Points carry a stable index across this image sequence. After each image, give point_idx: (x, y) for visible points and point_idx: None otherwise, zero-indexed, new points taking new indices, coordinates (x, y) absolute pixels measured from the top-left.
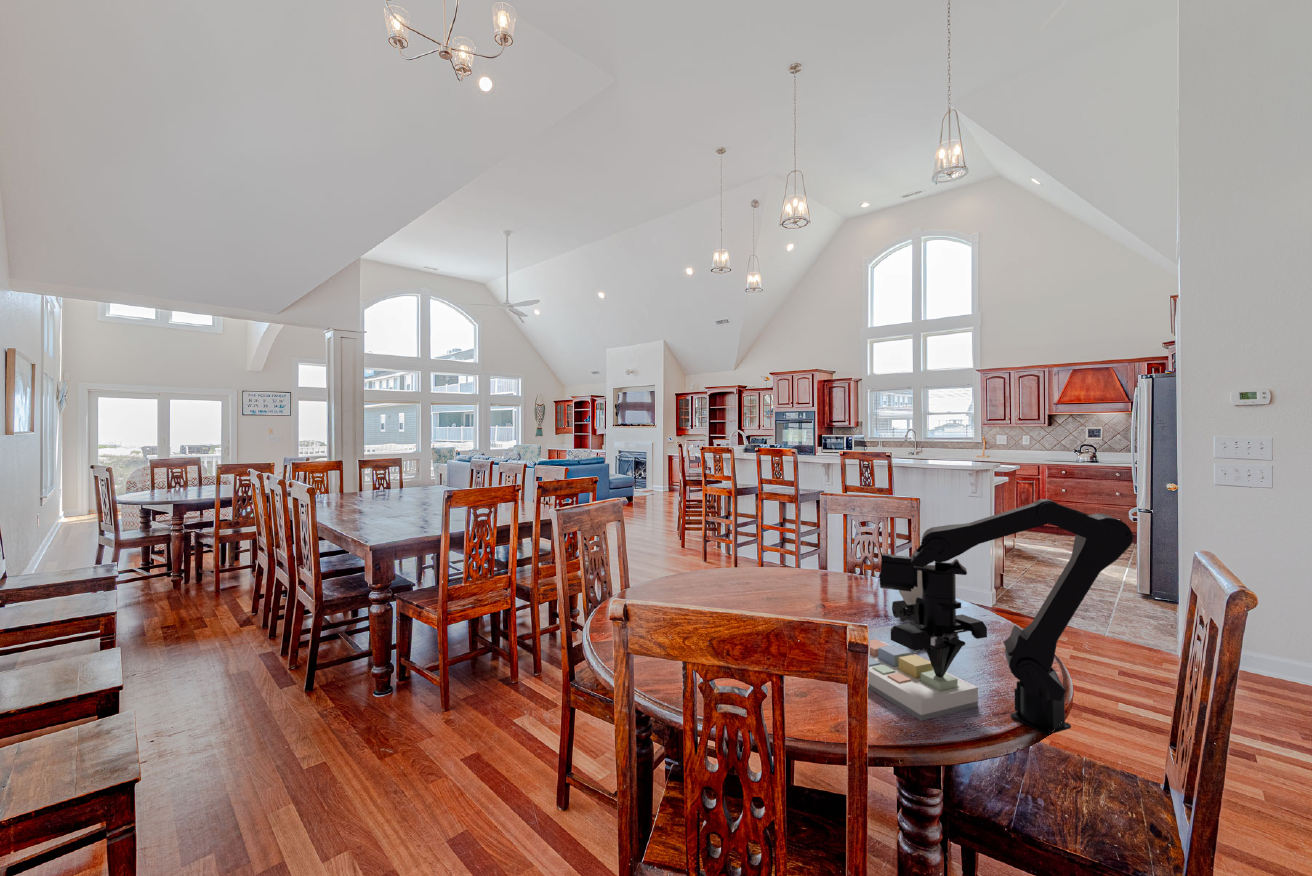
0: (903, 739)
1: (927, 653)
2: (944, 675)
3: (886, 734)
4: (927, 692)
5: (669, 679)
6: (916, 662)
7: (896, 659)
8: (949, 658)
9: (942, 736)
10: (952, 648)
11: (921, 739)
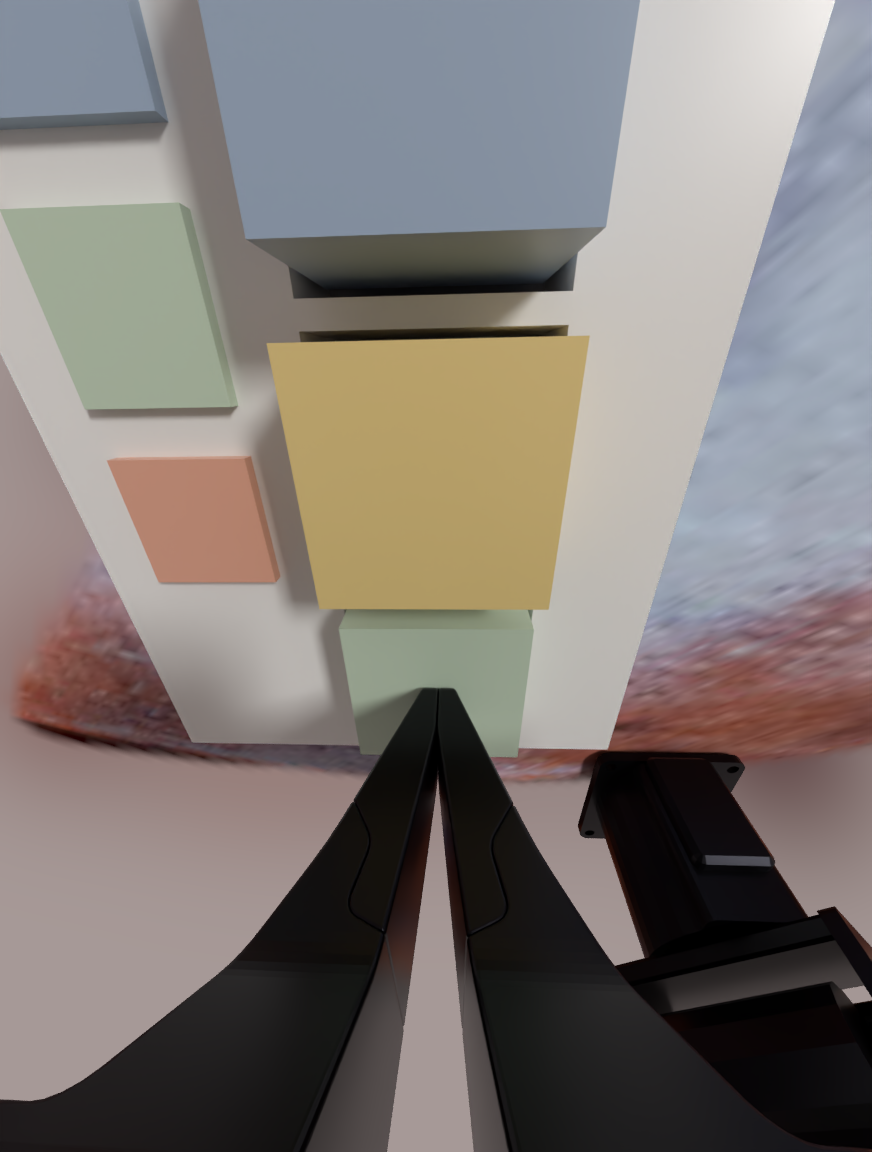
0: (106, 719)
1: (320, 854)
2: (482, 706)
3: (52, 686)
4: (280, 706)
5: None
6: (390, 547)
7: (312, 257)
8: (454, 946)
9: (256, 745)
10: (474, 1146)
11: (172, 735)
